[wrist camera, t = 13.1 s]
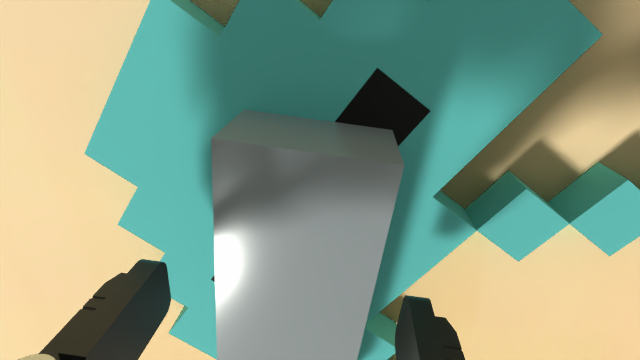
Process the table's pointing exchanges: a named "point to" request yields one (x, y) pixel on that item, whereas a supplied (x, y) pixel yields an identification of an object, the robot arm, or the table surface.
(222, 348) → the grey rectangular block
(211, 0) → the table surface
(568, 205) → the alien figure
